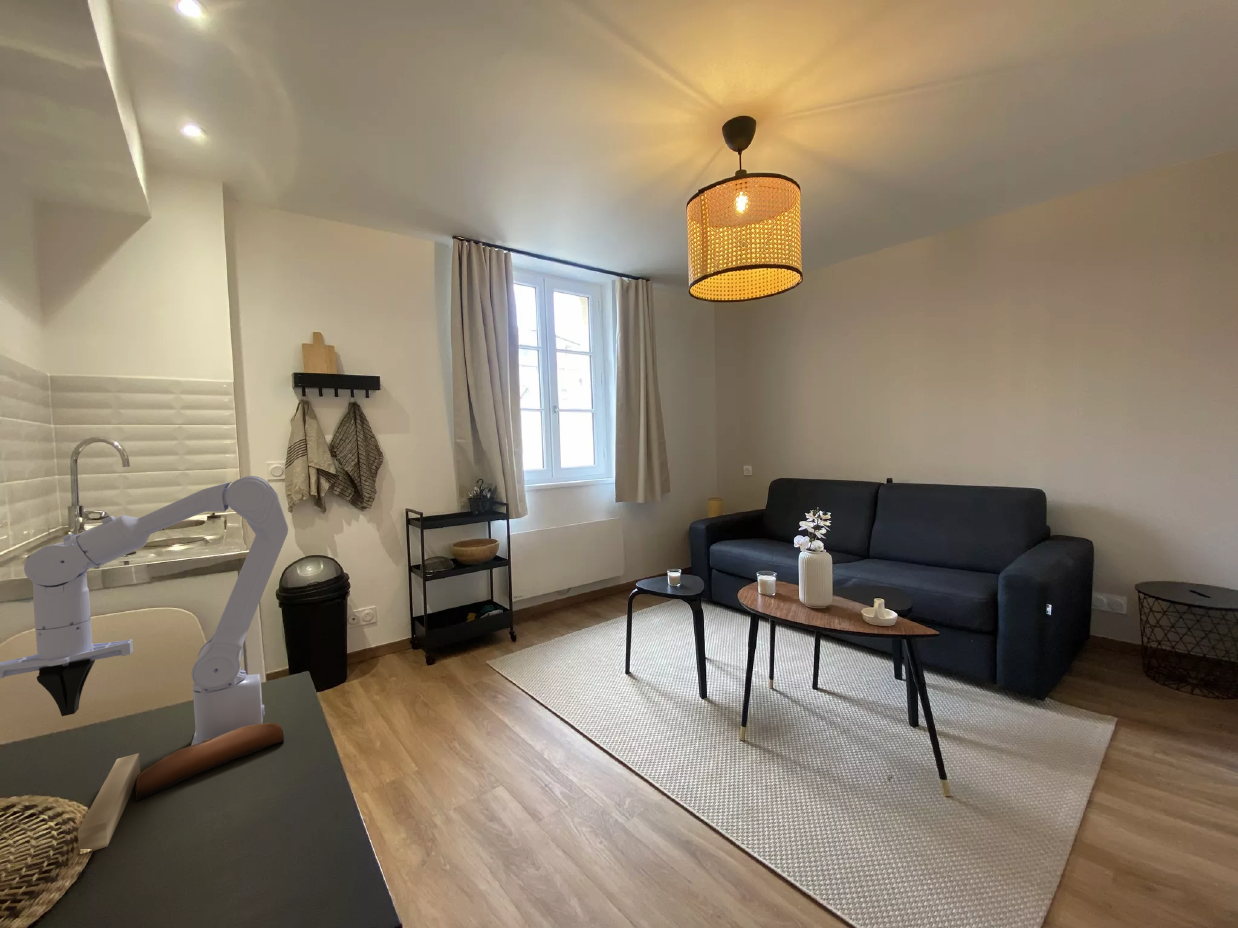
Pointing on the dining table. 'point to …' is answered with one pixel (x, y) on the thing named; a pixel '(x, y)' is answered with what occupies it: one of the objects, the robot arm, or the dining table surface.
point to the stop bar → (109, 804)
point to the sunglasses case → (206, 756)
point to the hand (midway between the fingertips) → (70, 712)
